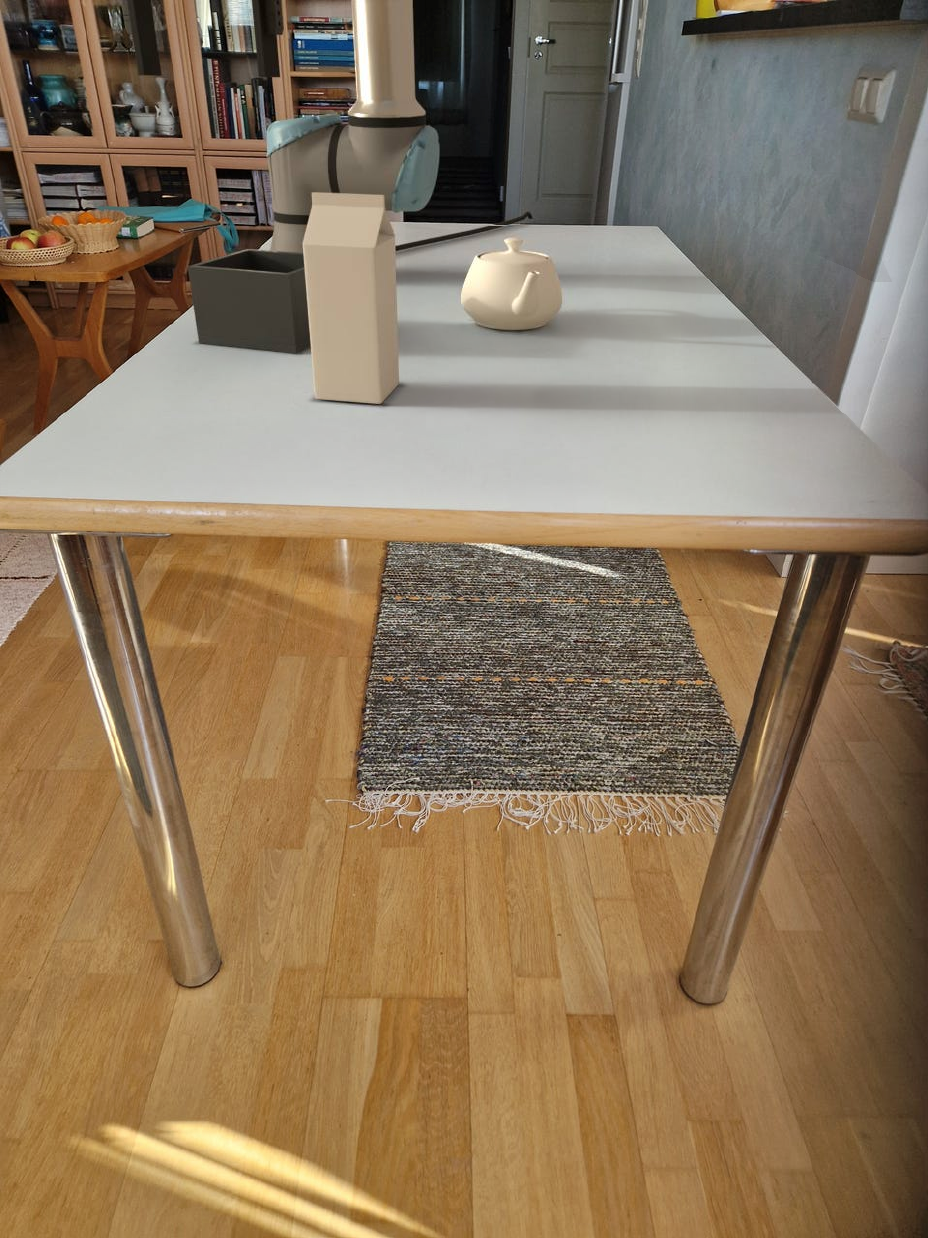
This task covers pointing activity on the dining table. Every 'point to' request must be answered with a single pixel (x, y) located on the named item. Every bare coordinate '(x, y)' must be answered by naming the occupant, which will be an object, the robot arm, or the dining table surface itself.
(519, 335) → the dining table surface
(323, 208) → the milk carton
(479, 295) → the teapot
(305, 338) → the waste bin
